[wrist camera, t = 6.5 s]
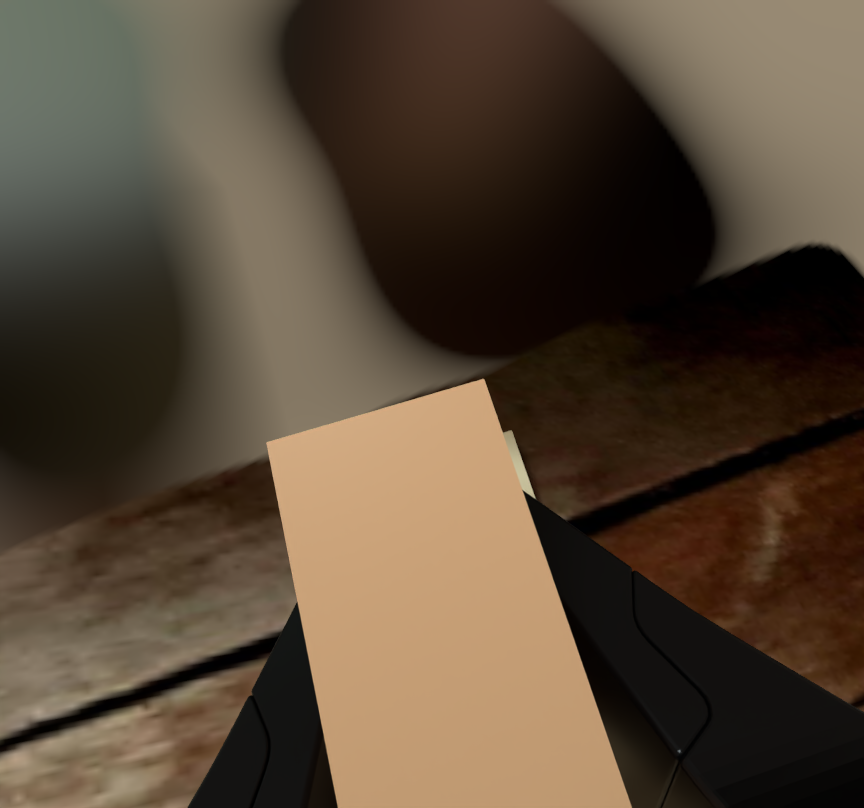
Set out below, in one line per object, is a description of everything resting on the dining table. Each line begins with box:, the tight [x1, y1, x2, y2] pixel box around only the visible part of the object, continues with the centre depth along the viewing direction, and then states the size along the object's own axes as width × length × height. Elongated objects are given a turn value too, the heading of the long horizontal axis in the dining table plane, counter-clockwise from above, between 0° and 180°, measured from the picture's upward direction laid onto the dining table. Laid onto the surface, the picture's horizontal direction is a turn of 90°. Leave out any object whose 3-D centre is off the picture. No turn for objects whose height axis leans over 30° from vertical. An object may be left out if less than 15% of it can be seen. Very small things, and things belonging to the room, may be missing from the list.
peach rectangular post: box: [267, 379, 632, 808], centre depth 6 cm, size 5×2×6 cm, turn 17°
